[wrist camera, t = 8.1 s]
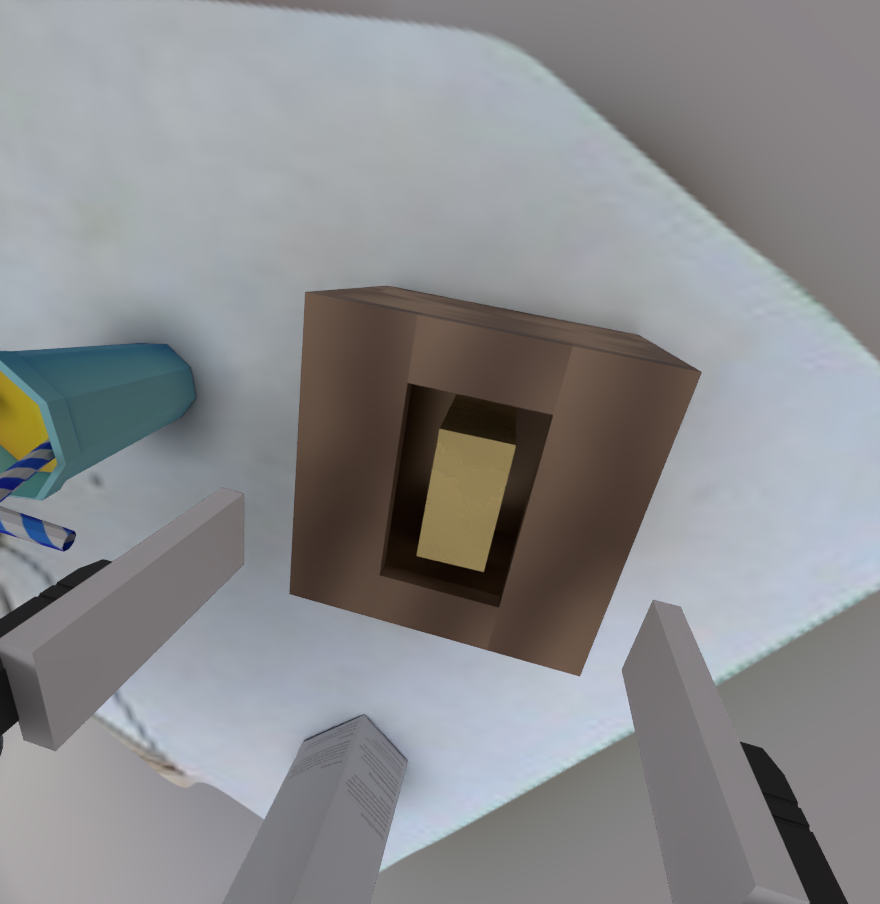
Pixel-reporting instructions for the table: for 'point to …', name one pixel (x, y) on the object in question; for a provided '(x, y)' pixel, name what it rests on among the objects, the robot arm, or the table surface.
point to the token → (468, 482)
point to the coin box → (530, 477)
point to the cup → (78, 418)
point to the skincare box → (326, 822)
